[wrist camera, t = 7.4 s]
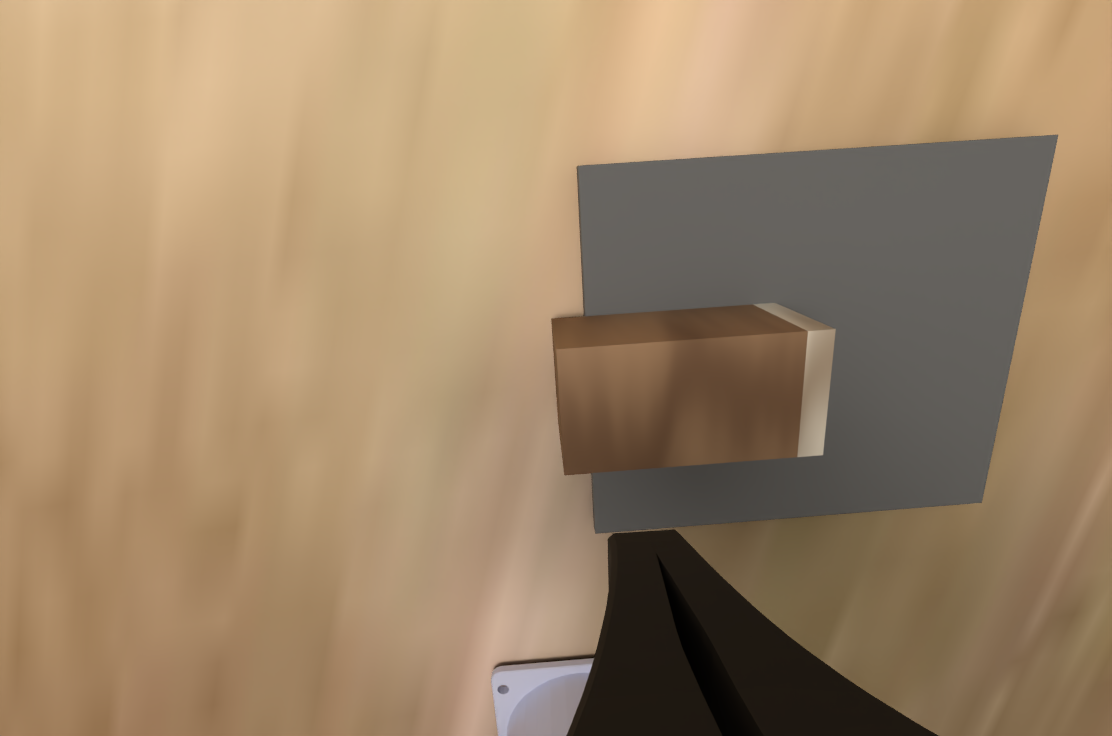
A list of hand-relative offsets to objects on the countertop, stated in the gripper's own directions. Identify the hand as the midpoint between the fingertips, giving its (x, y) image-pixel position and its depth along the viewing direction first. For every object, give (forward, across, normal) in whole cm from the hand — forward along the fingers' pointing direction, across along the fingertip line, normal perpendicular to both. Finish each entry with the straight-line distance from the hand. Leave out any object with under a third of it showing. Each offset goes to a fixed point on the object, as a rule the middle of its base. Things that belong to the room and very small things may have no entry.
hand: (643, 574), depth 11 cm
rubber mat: (+10, -8, -1) cm, 13 cm away
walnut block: (+8, +1, -1) cm, 8 cm away
